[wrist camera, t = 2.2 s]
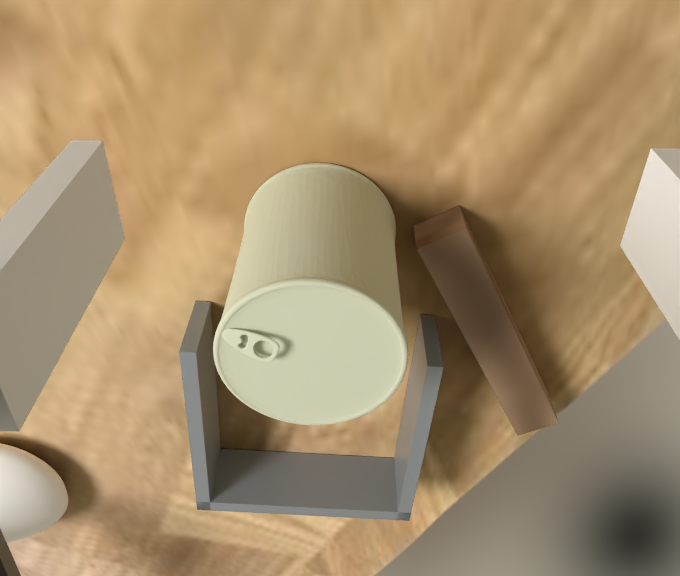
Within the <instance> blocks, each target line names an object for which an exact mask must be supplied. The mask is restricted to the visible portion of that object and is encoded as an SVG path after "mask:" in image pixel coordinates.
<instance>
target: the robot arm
mask: <svg viewBox="0 0 680 576" xmlns="http://www.w3.org/2000/svg"><path fill="white" fill-rule="evenodd" d="M124 239H125V236H124V232H123V228H122V223H121V219H120V214H119V210H118V205H117V201H116V197H115V192H114V188H113V183H112V179H111V174H110V170H109V166H108V161H107V157H106V152H105V148H104V143H103V141H89V140H71V141H70V142H69V143H68V144H67V145H66V147H65V148H64V149H63V150H62V151H61V152H60V153H59V154H58V156H57V157H56V158H55V159H54V160H53V161H52V162H51V164H50V165H49V166H48V167H47V168H46V169H45V170H44V171H43V173H42V174H41V175H40V176H39V177H38V178H37V179H36V180H35V182H34V183H33V184H32V185H31V186H30V187H29V188H28V189H27V191H26V192H25V193H24V194H23V195H22V196H21V197H20V198H19V200H18V201H17V202H16V203H15V204H14V205H13V206H12V207H11V209H10V210H9V211H8V212H7V213H6V214H5V215H4V216H3V218H2V219H1V220H0V431H20V429H21V427H22V425H23V424H24V422H25V420H26V418H27V416H28V414H29V413H30V411H31V409H32V407H33V405H34V404H35V402H36V400H37V398H38V396H39V394H40V393H41V391H42V389H43V387H44V385H45V383H46V382H47V380H48V378H49V376H50V374H51V372H52V371H53V369H54V367H55V365H56V363H57V362H58V360H59V358H60V356H61V354H62V352H63V351H64V349H65V347H66V345H67V343H68V341H69V340H70V338H71V336H72V334H73V332H74V331H75V329H76V327H77V325H78V323H79V321H80V320H81V318H82V316H83V314H84V312H85V310H86V309H87V307H88V305H89V303H90V301H91V300H92V298H93V296H94V294H95V292H96V290H97V289H98V287H99V285H100V283H101V281H102V279H103V278H104V276H105V274H106V272H107V270H108V269H109V267H110V265H111V263H112V261H113V259H114V258H115V256H116V254H117V252H118V250H119V248H120V247H121V245H122V243H123V241H124ZM620 247H621V248H622V250H623V251H624V253H625V254H626V256H627V258H628V259H629V261H630V262H631V264H632V266H633V267H634V269H635V270H636V272H637V273H638V275H639V277H640V278H641V280H642V281H643V283H644V285H645V286H646V288H647V289H648V291H649V292H650V294H651V296H652V297H653V299H654V300H655V302H656V304H657V305H658V307H659V308H660V310H661V311H662V313H663V315H664V316H665V318H666V319H667V321H668V322H669V324H670V325H671V327H672V329H673V330H674V332H675V334H676V335H677V337H678V338H679V340H680V149H674V148H651V150H650V153H649V156H648V160H647V163H646V166H645V169H644V172H643V175H642V178H641V182H640V185H639V188H638V191H637V194H636V197H635V201H634V204H633V207H632V210H631V213H630V216H629V219H628V223H627V226H626V229H625V232H624V235H623V238H622V242H621V245H620ZM0 576H21V575H20V573H19V570H18V568H17V566H16V563H15V561H14V559H13V556H12V554H11V552H10V550H9V547H8V545H7V543H6V540H5V538H4V536H3V533H2V531H1V529H0Z"/></svg>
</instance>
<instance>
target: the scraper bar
mask: <svg viewBox="0 0 680 576" xmlns="http://www.w3.org/2000/svg"><path fill="white" fill-rule="evenodd" d="M413 227H414V234H415V241H416V248H417V251H418V253H419V254H420V256H421V258H422V260H423V262H424V264H425V265H426V267H427V269H428V271H429V273H430V275H431V277H432V278H433V280H434V282H435V284H436V286H437V288H438V289H439V291H440V293H441V295H442V297H443V299H444V301H445V302H446V304H447V306H448V308H449V310H450V312H451V313H452V315H453V317H454V319H455V321H456V323H457V325H458V326H459V328H460V330H461V332H462V334H463V336H464V337H465V339H466V341H467V343H468V345H469V347H470V349H471V350H472V352H473V354H474V356H475V358H476V360H477V361H478V363H479V365H480V367H481V369H482V371H483V373H484V374H485V376H486V378H487V380H488V382H489V384H490V385H491V387H492V389H493V391H494V393H495V395H496V397H497V398H498V400H499V402H500V404H501V406H502V408H503V409H504V411H505V413H506V415H507V417H508V419H509V420H510V422H511V424H512V426H513V428H514V430H515V432H516V433H517V435H522V434H525V433H528V432H531V431H534V430H538V429H541V428H544V427H547V426H550V425H553V424H557V423H558V420H557V417H556V414H555V411H554V408H553V405H552V402H551V399H550V396H549V394H548V392H547V389H546V387H545V385H544V383H543V381H542V379H541V377H540V375H539V372H538V370H537V368H536V366H535V364H534V362H533V360H532V358H531V356H530V353H529V351H528V349H527V347H526V345H525V343H524V341H523V339H522V336H521V334H520V332H519V330H518V328H517V326H516V324H515V322H514V320H513V317H512V315H511V313H510V311H509V309H508V307H507V305H506V303H505V300H504V298H503V296H502V294H501V292H500V290H499V288H498V286H497V283H496V281H495V279H494V277H493V275H492V273H491V271H490V269H489V267H488V264H487V262H486V260H485V258H484V256H483V254H482V252H481V250H480V247H479V245H478V243H477V241H476V239H475V237H474V235H473V233H472V231H471V228H470V226H469V224H468V222H467V220H466V218H465V216H464V214H463V211H462V209H461V207H460V205H459V206H457V207H454V208H452V209H450V210H447V211H445V212H443V213H441V214H438V215H436V216H434V217H431V218H429V219H427V220H424V221H422V222H420V223H417V224H415V225H413Z"/></svg>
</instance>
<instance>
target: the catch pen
mask: <svg viewBox="0 0 680 576" xmlns="http://www.w3.org/2000/svg"><path fill="white" fill-rule="evenodd" d="M213 342H214V340H213V326H212V311H211V302H207V301H196V302H195V305H194V308H193V311H192V314H191V317H190V320H189V323H188V326H187V329H186V333H185V336H184V339H183V342H182V345H181V348H180V351H179V353H180V362H181V371H182V380H183V388H184V397H185V406H186V415H187V424H188V432H189V441H190V450H191V459H192V468H193V476H194V485H195V494H196V503H197V510H213V511H232V512H252V513H271V514H290V515H309V516H329V517H348V518H367V519H386V520H406V521H409V520H410V515H411V511H412V506H413V502H414V497H415V493H416V488H417V484H418V480H419V475H420V471H421V466H422V462H423V457H424V453H425V448H426V444H427V440H428V435H429V431H430V426H431V422H432V417H433V413H434V408H435V404H436V400H437V395H438V391H439V386H440V382H441V377H442V373H443V368H444V366H443V360H442V354H441V348H440V342H439V336H438V330H437V324H436V318H435V315H420V319H419V324H418V330H417V335H416V341H415V346H414V352H413V357H412V363H411V368H410V374H409V379H408V384H407V390H406V395H405V401H404V406H403V412H402V417H401V423H400V428H399V434H398V439H397V445H396V450H395V456H394V458H385V457H366V456H348V455H330V454H311V453H293V452H275V451H256V450H238V449H221V441H220V427H219V412H218V398H217V383H216V369H215V361H214V355H213Z"/></svg>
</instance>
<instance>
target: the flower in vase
mask: <svg viewBox="0 0 680 576" xmlns="http://www.w3.org/2000/svg"><path fill="white" fill-rule="evenodd" d="M67 507H68V494H67V491H66V487H65V485H64V482H63V480H62V479H61V477H60V476H59V475H58V473H57V472H56V471H55V470H54V469H53V468H52V467H51V466H49V465H48V464H47V463H45V462H44V461H43V460H41V459H40V458H38V457H36V456H35V455H32V454H30V453H28V452H26V451H24V450H21V449H19V448H16V447H13V446H9V445H6V444H1V443H0V529H1V531H2V533H3V536H4V538H5V540H6V543H7V542H11V541H15V540H19V539H23V538H26V537H30V536H32V535H35V534H37V533H39V532H42V531H44V530H46V529H48V528H50V527H51V526H52V525H54V524H55V523H56V522H57V521H58V520H59V519H60V518H61V517H62V516H63V514H64V513H65V511H66V509H67Z"/></svg>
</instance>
